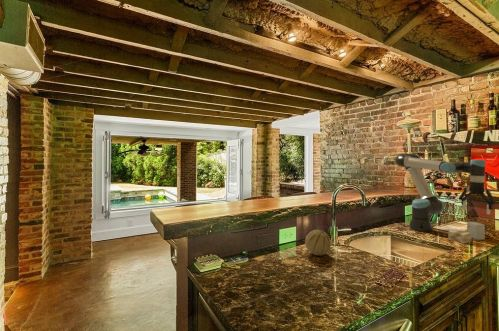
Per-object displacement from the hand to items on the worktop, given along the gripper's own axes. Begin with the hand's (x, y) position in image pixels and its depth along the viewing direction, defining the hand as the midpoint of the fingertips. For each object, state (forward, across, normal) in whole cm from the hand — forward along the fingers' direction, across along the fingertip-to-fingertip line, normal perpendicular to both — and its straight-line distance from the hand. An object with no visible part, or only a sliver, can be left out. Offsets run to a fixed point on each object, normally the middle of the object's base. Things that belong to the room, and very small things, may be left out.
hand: (475, 211), depth 174 cm
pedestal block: (+19, -1, -16) cm, 24 cm away
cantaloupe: (+19, -22, -119) cm, 122 cm away
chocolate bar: (+19, +16, -107) cm, 110 cm away
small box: (+19, 0, 0) cm, 19 cm away
